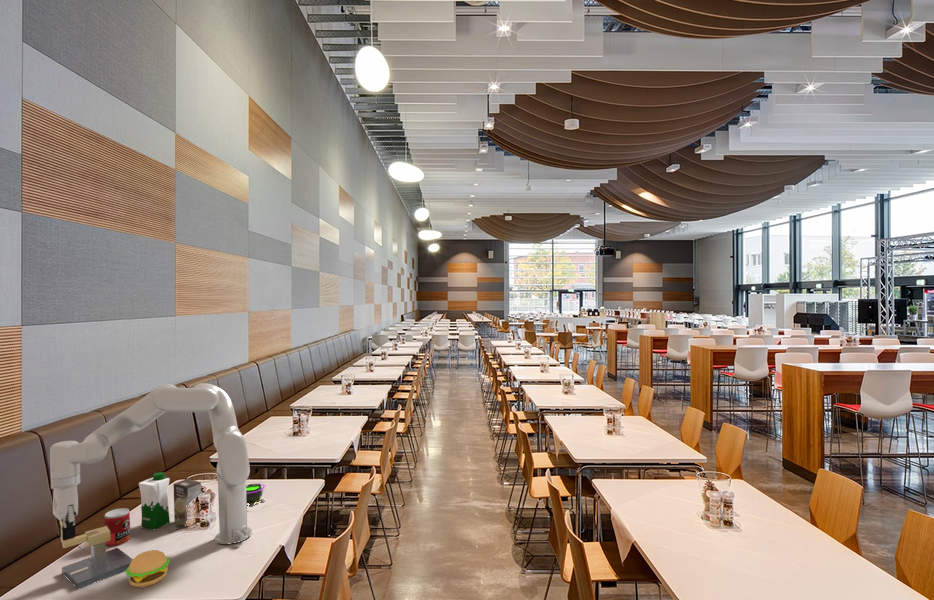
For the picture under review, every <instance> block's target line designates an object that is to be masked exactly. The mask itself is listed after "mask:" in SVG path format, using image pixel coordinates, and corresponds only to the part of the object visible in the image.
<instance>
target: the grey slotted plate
mask: <svg viewBox="0 0 934 600" xmlns="http://www.w3.org/2000/svg"><path fill="white" fill-rule="evenodd" d="M106 546H107V545H106V542H103V543H100V544H97V545H93V546H90V556H89V557H88V558H85V559H82V560H79V561H76V562H74V563H70V564H67V565H64V566H62V567H61V574H62V573H63V574H64V575H65V576H66V577H67V578H68V579H69V580H70V581H71V582H72V583H71V582H70V581H69V580H68V579H67V578H66V577H65V576H64V575H63V574H62V575H63V576H64V577H65V578H66V579H67V580H68V581H69V582H70V583H71V584H72V585H73V584H74V585H75V586H74V585H73V586H74V587H75V589H77V590H80V589H79V588H81V589H83V588H85V587H84V586H86V587H88V586H87V585H89V586H90V584H91V585H93V584H92V583H94V582H96V583H98V582H97V581H99V582H101V581H104V580H106V579H108V578H111V577H114V576H117V575H118V574H122V573H123V572H124V573H125V572H126V569H127V568H128V567H129V565H130V563H131V561H132V560H133V559H134V558H132V557H131V556H130V555H128V554H126V553H125V552H124V551H122V550H121V549H120V548H119V547H115V548H113V549H109V550H106V549H107V547H106ZM103 579H104V580H103ZM100 580H101V581H100ZM94 584H95V583H94ZM82 587H83V588H82Z"/></svg>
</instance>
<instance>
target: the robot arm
mask: <svg viewBox="0 0 934 600" xmlns="http://www.w3.org/2000/svg"><path fill="white" fill-rule="evenodd" d="M205 412H206V413H207V412H208V416H209V420H210V421H209V422H210V425H211V430H212V439H213V445H214V448H215V449H216V453H217V458H218V461H217V464H216V478H217V490H218V491H217V492H218V495H217V496H218V499H217V500H218V521H219V523H218V526H219V528H218V529H219V530H218V531H219V532H218V533H217V534H216V535H215V537H214V542H215V541H216V542H217V543H216V542H215V543H216V544H218V543H221V544H228V543H234V542H238V541H241V540H244V539H246V538H247V539H249V538H250V537H251V536H252V534H251V533H253V531H252V528H251V527H248V511H247V502H246V485H247V480H248V479H249V476H250V472H251V468H250V461H249V460H250V459H249V456H248V455H249V454H248V448H247V445H246V440H245V436H244V435H243V434H242V432H241V431H240V429H239V427H238V421H237V416H236V412H235V408H234V404H233V402H232V399H231V397H230V395H228V394H227V393H226V391H225V390H223V389H222V388H221V387H219V386H217V385H215V384H211V383H206V382H204V383H198V384H196V385H194V386H193V387H177V386H176V385H175V384H172V383H164V384H161V385H159V386H158V387H156V388H155V389H153V390H151V392H149V393H148V394H146V395H145V396H144V397H142V398H141V399H139V400H138V401H137V402H135V403H134V404H133V405H131V406H130V407H128V408H127V409H126V410H124V411H122V412H121V413H119V414H118V415H116V416H114V417H113V418H112V419H110V420H108V421H107V422H105V423H104V424H103V425H101V426H99V428H97V429H95V430H94V431H92V432H91V433H90V434H89V435H87V436H86V437H85V438H84V440H82V442H78V441H76V440H64V441H59V442H56V443H53V444H52V445H51V446H50V448H49V462H50V467H49V468H50V489H51V490H53V491H52V500H53V501H52V513H53V516H54V517H55V518H56V519H57V520H59V521H58V522H59V525H58V528H59V529H58V530H59V537H60V538H61V527H60V521H61V520H62V519H63V526H64V528H62V532H63V541H65V540H68V539H72V538H75V537H76V521H75V520H76V519H75V517H77V516H78V515H79V497H78V496H79V494H78V485H79V484H80V483H81V464H94V463H98V462H101V461H102V460H103V459H105V457H106V456H107V454H108V451H109V450H108V449H109V448H110V447H112V446H113V445H114V444H115V443H117V442H119V441H120V440H121V439H122V438H124V437H126V436H128V435H130V434H131V433H135V432H138V431H140V430H143V429H144V428H146V427H148V426H149V425H151V424H152V423H153V422H154V421H155V420H156V419H158V418H159V417H161V416H162V415H164V414H165V413H205ZM65 517H66V518H65ZM68 519H69V520H68ZM66 520H68V521H67V522H66ZM250 535H251V536H250ZM249 536H250V537H249ZM248 537H249V538H248ZM247 539H246V540H247ZM244 541H245V540H244ZM221 544H220V545H221Z"/></svg>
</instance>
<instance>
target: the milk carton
mask: <svg viewBox="0 0 934 600" xmlns="http://www.w3.org/2000/svg"><path fill="white" fill-rule="evenodd" d="M169 485H170V477H166V473H165V472H164V471H160V472H159V471H158V472H155V473H153V475H152V477H150V478H148V479H145V480H143V481H140V482H138V487H139V491H140V506H141V509H140V510H141V524H140V525H141V526H140V528H141V527H143V528H142V529H145V528H147V529H146V530H150V529H151V530H150V531H155V530H157V529H160V528H161V526H162V527H164V526H166V525H168V524H170V522H171V521H170V518H171V517H170V511H169V510H170V509H169ZM167 523H168V524H167ZM165 524H166V525H165ZM163 525H164V526H163ZM159 527H160V528H159ZM154 529H155V530H154Z"/></svg>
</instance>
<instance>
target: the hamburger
mask: <svg viewBox="0 0 934 600" xmlns="http://www.w3.org/2000/svg"><path fill="white" fill-rule="evenodd" d="M132 559H133V560H132V561H131V563H130V565H129V567H128V568H127V569H126V571H125V574H126V575H127V576H129V584H130V585H131V587H135V588H145V587H149V586H153V585H155V584H157V583H159V582H161V581H162V580H163V579H164V578H165V577H166V576H167V572H168V570H169V569H168V567H169V564H170V559H169V557H168V556H167V555H166V554H165V553H164V552H163V551H160V550H158V549H151V550H146V551H143V552H141V553H139V554H137V555H136V556H135V557H134V558H132Z"/></svg>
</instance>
